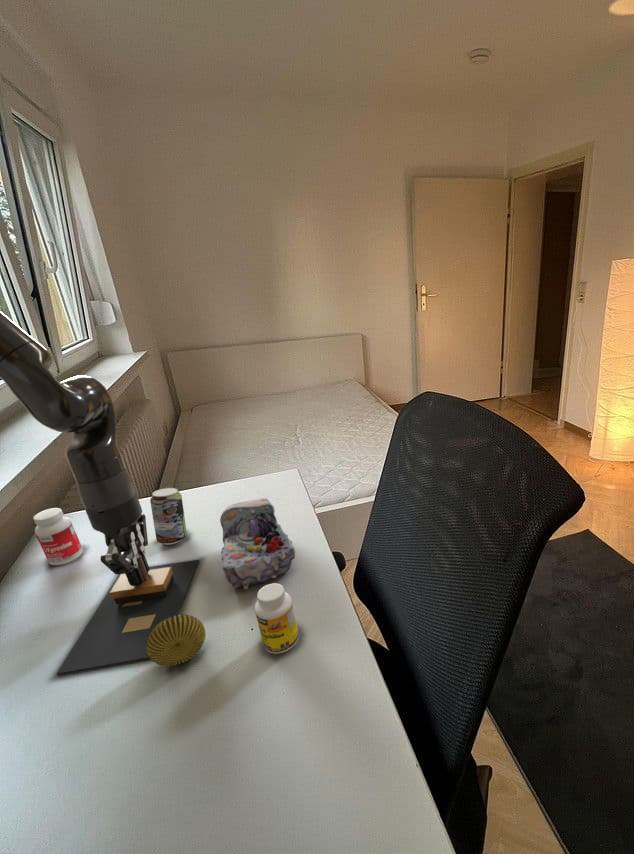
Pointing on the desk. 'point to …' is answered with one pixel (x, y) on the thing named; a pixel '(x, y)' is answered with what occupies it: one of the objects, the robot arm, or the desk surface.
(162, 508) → the beverage can
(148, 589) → the brush
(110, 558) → the robot arm
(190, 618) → the sculpture
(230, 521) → the cell model
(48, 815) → the desk surface
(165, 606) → the mat
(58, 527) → the pill bottle
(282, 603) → the supplement bottle
